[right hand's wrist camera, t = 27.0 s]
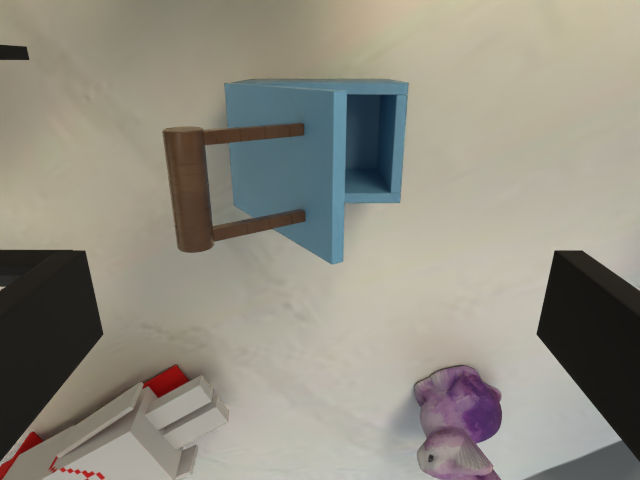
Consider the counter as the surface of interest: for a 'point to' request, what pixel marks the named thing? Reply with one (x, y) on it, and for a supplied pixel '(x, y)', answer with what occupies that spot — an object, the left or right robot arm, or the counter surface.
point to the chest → (367, 134)
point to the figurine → (457, 424)
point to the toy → (128, 436)
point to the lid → (266, 168)
